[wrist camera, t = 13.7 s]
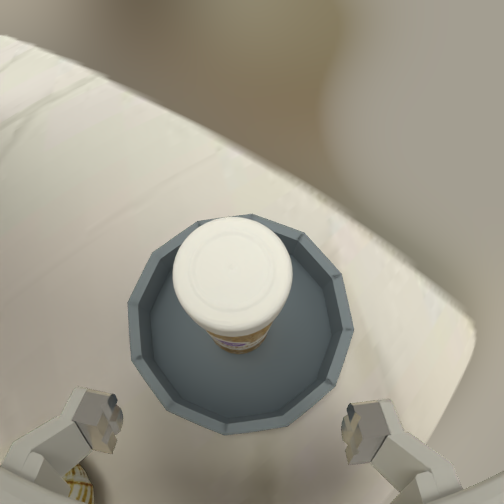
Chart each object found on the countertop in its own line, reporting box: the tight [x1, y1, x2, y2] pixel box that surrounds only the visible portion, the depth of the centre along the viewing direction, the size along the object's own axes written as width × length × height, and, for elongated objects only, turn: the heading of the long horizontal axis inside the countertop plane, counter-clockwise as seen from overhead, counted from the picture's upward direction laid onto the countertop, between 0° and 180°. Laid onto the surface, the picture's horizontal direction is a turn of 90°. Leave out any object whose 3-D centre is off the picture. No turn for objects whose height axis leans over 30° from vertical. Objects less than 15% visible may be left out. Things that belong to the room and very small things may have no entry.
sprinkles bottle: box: [173, 217, 293, 354], centre depth 18 cm, size 5×5×14 cm
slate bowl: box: [128, 214, 354, 435], centre depth 23 cm, size 16×16×4 cm
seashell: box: [62, 463, 94, 504], centre depth 16 cm, size 10×10×10 cm
